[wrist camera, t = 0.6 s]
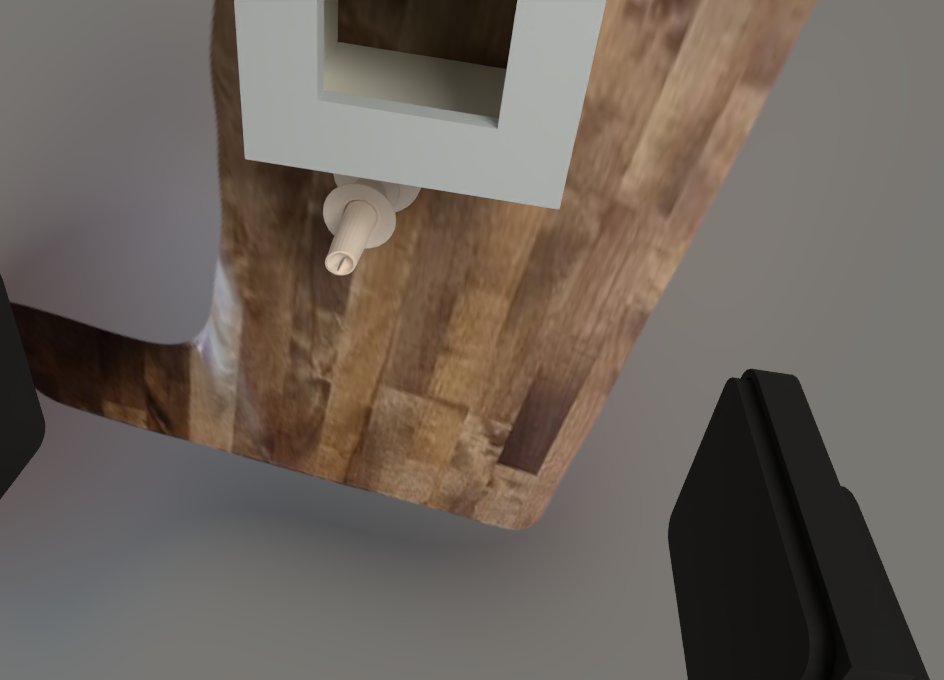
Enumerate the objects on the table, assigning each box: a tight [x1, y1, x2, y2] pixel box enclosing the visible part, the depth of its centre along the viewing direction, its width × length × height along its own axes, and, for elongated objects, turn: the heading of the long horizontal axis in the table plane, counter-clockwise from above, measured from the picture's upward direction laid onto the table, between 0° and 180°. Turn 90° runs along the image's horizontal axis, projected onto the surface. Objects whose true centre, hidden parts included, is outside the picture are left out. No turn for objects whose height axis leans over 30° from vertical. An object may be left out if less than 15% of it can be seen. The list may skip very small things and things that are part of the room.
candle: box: [323, 173, 421, 275], centre depth 41 cm, size 5×5×10 cm
